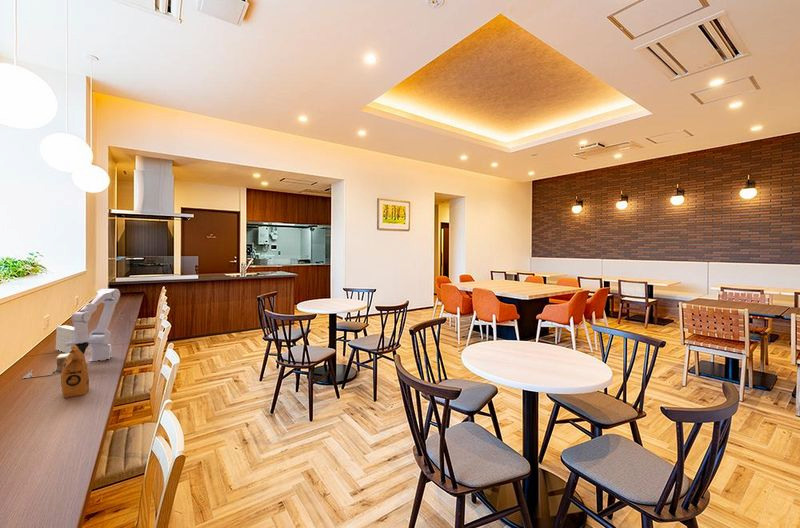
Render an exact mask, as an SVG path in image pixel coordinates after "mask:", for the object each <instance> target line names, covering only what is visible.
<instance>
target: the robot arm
mask: <svg viewBox="0 0 800 528" xmlns="http://www.w3.org/2000/svg"><path fill="white" fill-rule="evenodd" d="M120 297H121V292H120V290H119V289H118V288H99V289H98V290H97V292H96V296H95V297H94V298H93V299H92V301H91V302H88V303H86V304H85V305H84V306H83V307H82V308H81V309H79V311H76V312H74V313H73V314H72V315H71V318H70V320H71V321H72V325H73V327H74V341H71V342H67V343H64V347H68V346H72V345H76V346H77V347H78V349H79V350H80V351H81V352H82V353H83V354H84V355H85V353H86V350H87V349H88V346H90V359H89V360H88V362H90V363H91V362H99V361H98V360H100V361H106V359H109V360H110V359H111V358H112V344H111V343H110V342H111V335H112V332H110V330H108V329H109V326H110V323H111V320H112V318H113V315H114V311H115V308H116V306H117V303H118V302H119V300H120ZM101 303H103V304H104V306H103V310H102V312H101V315H100V317H99V320H98V323H97V325H96V326H97V327H96V328H95V329H93V330H92V331H90V333H89V331H88V330H89V329H88V328H89V327H88V325H89V321H90V320H91V317H92V315H93V314H94V313H95V312H96V311H97V309H98V307H97V306H99V305H101ZM110 357H111V358H110Z"/></svg>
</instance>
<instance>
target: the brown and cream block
mask: <svg viewBox="0 0 800 528" xmlns="http://www.w3.org/2000/svg"><path fill="white" fill-rule="evenodd" d="M69 354H70V353H60V354H58V356H56V364H57V371H56V372H62V371H61V370H62V369H63V364H64V361H65V360H66V358H67V357H68V356H69Z"/></svg>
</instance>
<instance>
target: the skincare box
mask: <svg viewBox="0 0 800 528" xmlns="http://www.w3.org/2000/svg"><path fill="white" fill-rule="evenodd" d="M71 341H74V326H71V325H67V324H65V325H56V334H55V350H56V351H58V350H59V352H61V351H62V353H64V354H68V353H70V352H71V351H72V349H71V346H68V347H64V343H67V342H71ZM72 346H73V345H72Z"/></svg>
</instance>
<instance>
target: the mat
mask: <svg viewBox="0 0 800 528" xmlns="http://www.w3.org/2000/svg"><path fill="white" fill-rule="evenodd" d="M56 370H57V367H56V368H55V372H57V371H56ZM30 371H31V372H32V370H30ZM30 371H28V373H26V374H25V375H24V376H23V377H22V378H21V380H25V379H24V378H27V379H31V378H30V375H31V376H32V375H33V374H32V373H31V372H30ZM47 375H51V376H52V375H54V373H52V374H47ZM32 377H33V376H32ZM34 377H35V376H34Z"/></svg>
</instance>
